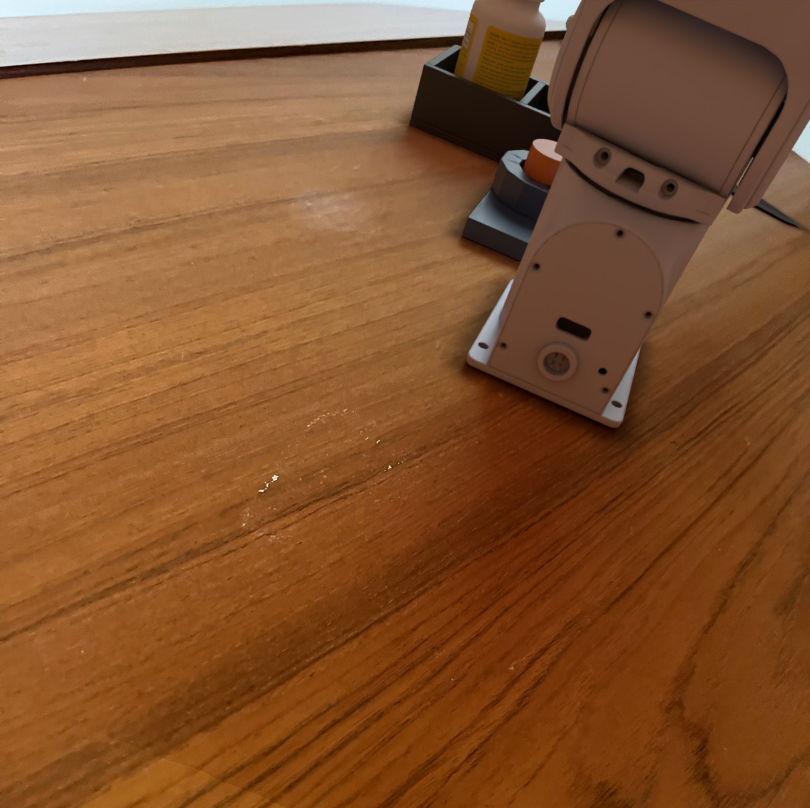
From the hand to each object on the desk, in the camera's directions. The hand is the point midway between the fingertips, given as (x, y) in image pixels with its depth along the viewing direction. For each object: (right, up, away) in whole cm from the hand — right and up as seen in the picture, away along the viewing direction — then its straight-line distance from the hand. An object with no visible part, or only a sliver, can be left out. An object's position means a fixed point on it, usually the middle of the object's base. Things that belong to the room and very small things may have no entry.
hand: (726, 90), depth 46 cm
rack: (-12, +2, +11) cm, 16 cm away
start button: (-11, -5, +1) cm, 12 cm away
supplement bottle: (-14, +4, +11) cm, 19 cm away
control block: (-11, -8, +2) cm, 14 cm away
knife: (+6, +2, +17) cm, 18 cm away
